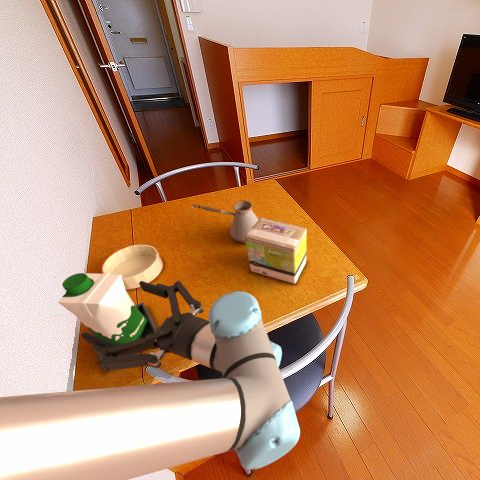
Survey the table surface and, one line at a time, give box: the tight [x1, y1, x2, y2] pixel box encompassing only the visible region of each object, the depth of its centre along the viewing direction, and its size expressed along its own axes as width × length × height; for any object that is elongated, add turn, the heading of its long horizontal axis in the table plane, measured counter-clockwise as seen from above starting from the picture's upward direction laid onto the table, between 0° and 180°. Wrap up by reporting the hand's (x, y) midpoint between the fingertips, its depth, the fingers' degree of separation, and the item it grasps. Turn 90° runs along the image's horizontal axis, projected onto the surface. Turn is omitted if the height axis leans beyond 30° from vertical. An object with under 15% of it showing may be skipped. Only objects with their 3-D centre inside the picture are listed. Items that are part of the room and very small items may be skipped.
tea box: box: [245, 216, 308, 285], centre depth 81 cm, size 15×10×15 cm, turn 72°
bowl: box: [101, 244, 164, 291], centre depth 82 cm, size 14×14×4 cm
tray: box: [92, 301, 158, 360], centre depth 66 cm, size 12×12×3 cm
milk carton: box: [58, 272, 150, 346], centre depth 60 cm, size 9×9×20 cm
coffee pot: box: [191, 199, 260, 244], centre depth 92 cm, size 21×12×15 cm, turn 102°
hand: (116, 309), depth 58 cm, fingers open, 13 cm apart
